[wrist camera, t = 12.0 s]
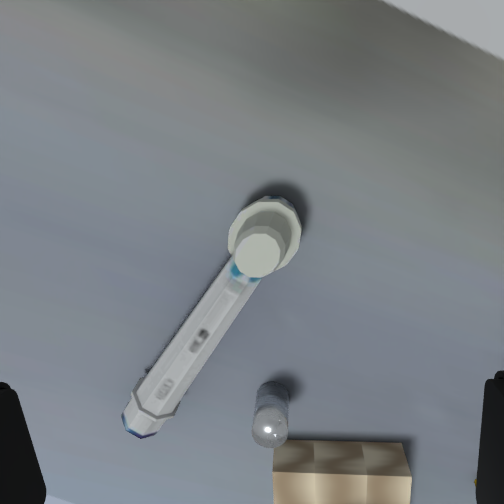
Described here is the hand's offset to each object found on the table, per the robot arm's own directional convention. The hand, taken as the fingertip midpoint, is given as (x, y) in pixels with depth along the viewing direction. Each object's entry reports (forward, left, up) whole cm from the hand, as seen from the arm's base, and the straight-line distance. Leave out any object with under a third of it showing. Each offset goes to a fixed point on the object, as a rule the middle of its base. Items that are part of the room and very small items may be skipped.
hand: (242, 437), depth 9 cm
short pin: (+2, +20, -28) cm, 34 cm away
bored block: (-4, +31, -28) cm, 42 cm away
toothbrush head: (+7, +11, -28) cm, 31 cm away
